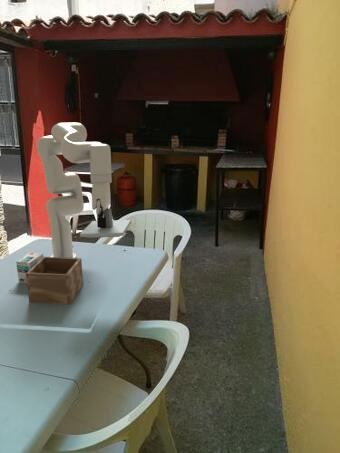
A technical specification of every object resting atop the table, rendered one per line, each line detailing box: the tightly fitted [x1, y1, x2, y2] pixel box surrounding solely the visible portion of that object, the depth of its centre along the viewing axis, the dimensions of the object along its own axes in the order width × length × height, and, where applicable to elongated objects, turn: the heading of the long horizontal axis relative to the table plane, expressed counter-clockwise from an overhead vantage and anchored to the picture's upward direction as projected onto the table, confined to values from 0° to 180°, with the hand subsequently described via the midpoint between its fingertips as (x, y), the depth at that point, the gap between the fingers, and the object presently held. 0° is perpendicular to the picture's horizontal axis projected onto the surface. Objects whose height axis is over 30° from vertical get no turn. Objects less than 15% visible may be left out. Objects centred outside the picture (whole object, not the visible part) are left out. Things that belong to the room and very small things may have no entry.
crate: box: [26, 256, 84, 305], centre depth 139 cm, size 16×16×13 cm
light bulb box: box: [15, 252, 44, 284], centre depth 151 cm, size 11×7×11 cm, turn 168°
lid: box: [79, 208, 132, 239], centre depth 134 cm, size 16×16×9 cm
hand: (103, 225), depth 134 cm, fingers closed on lid, 4 cm apart
